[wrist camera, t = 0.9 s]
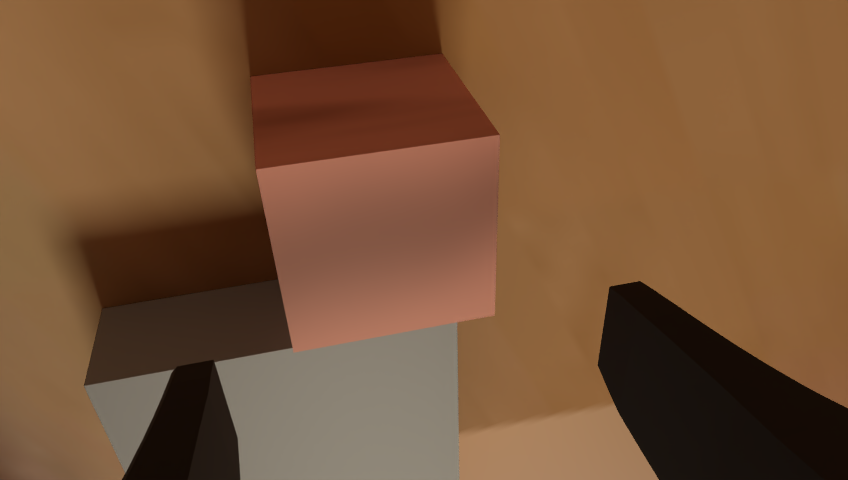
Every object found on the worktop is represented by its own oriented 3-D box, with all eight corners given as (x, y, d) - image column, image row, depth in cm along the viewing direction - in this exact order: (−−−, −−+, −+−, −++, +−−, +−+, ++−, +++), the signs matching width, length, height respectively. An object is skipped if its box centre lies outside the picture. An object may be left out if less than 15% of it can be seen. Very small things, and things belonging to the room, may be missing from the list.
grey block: (437, 444, 28) (459, 520, 25) (184, 498, 26) (178, 585, 24) (428, 247, 22) (456, 318, 19) (104, 300, 21) (84, 385, 18)
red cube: (445, 210, 21) (494, 315, 17) (281, 236, 20) (293, 352, 16) (441, 52, 18) (500, 134, 14) (250, 75, 17) (255, 169, 13)
